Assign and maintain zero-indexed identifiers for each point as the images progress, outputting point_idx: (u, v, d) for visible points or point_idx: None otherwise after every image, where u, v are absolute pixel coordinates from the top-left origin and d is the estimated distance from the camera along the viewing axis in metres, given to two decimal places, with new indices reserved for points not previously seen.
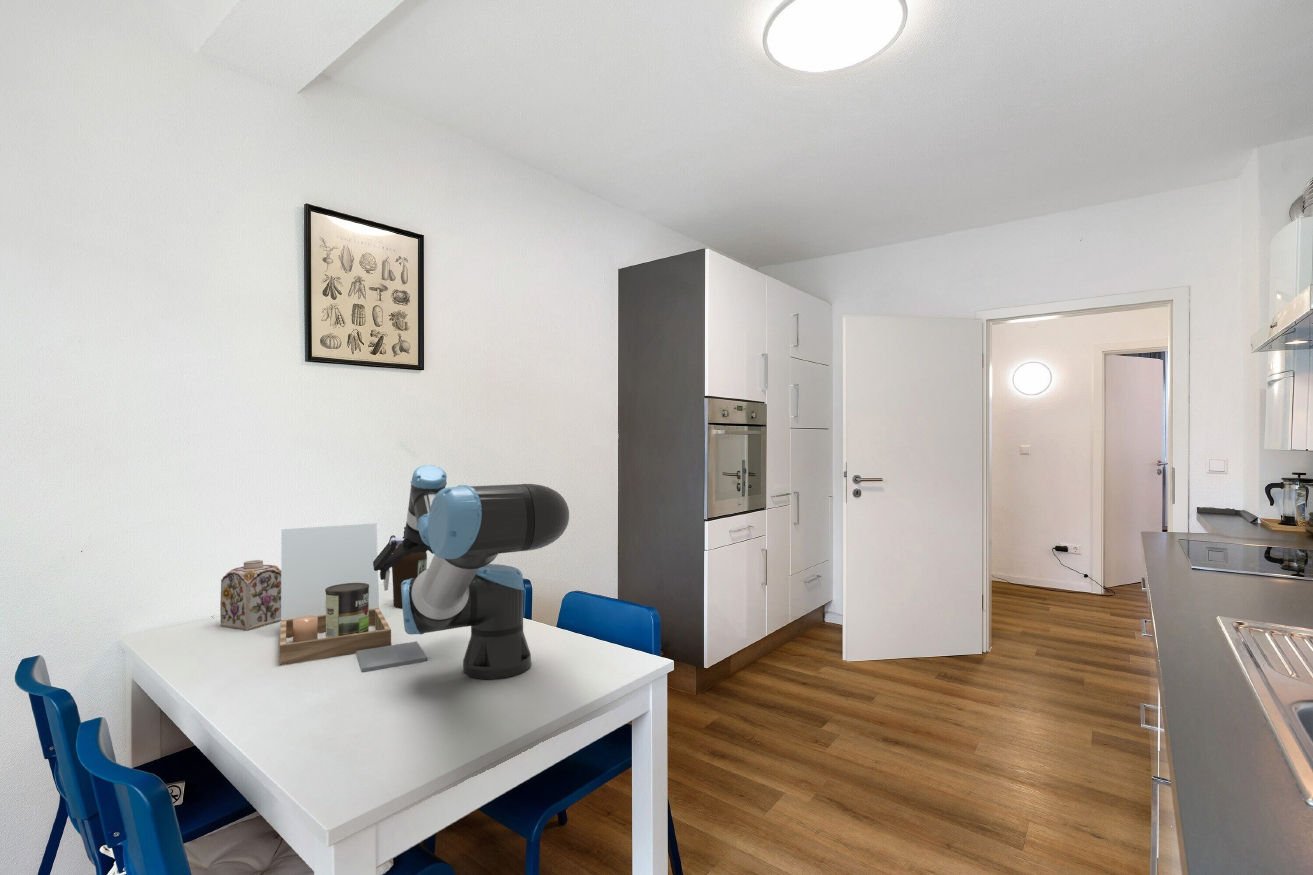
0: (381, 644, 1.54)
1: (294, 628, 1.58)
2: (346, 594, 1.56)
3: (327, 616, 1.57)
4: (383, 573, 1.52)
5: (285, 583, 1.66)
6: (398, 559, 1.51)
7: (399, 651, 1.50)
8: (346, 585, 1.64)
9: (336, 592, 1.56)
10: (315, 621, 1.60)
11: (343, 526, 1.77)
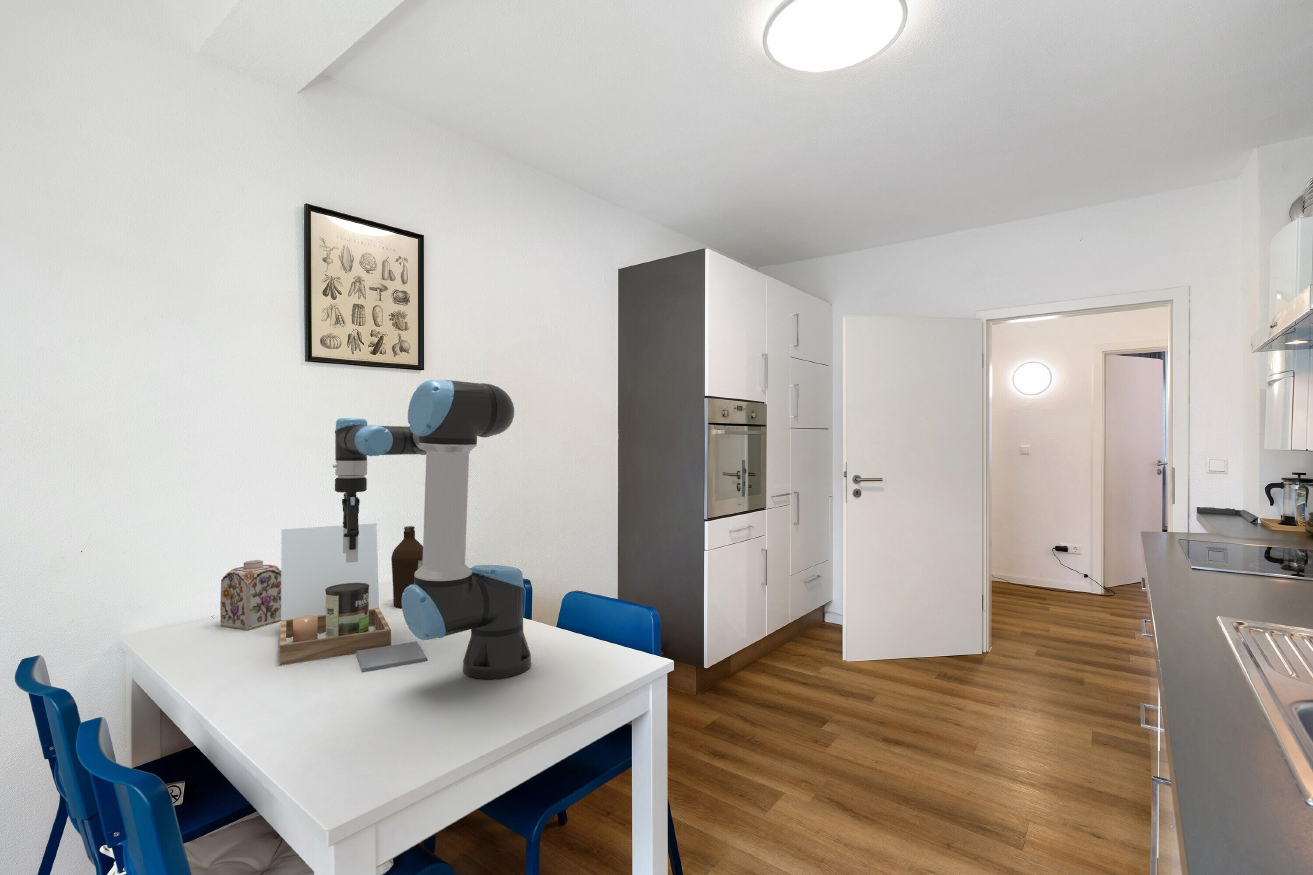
0: (381, 644, 1.54)
1: (294, 628, 1.58)
2: (346, 594, 1.56)
3: (327, 616, 1.57)
4: (355, 540, 1.55)
5: (285, 583, 1.66)
6: None
7: (399, 651, 1.50)
8: (346, 585, 1.64)
9: (336, 592, 1.56)
10: (315, 621, 1.60)
11: None
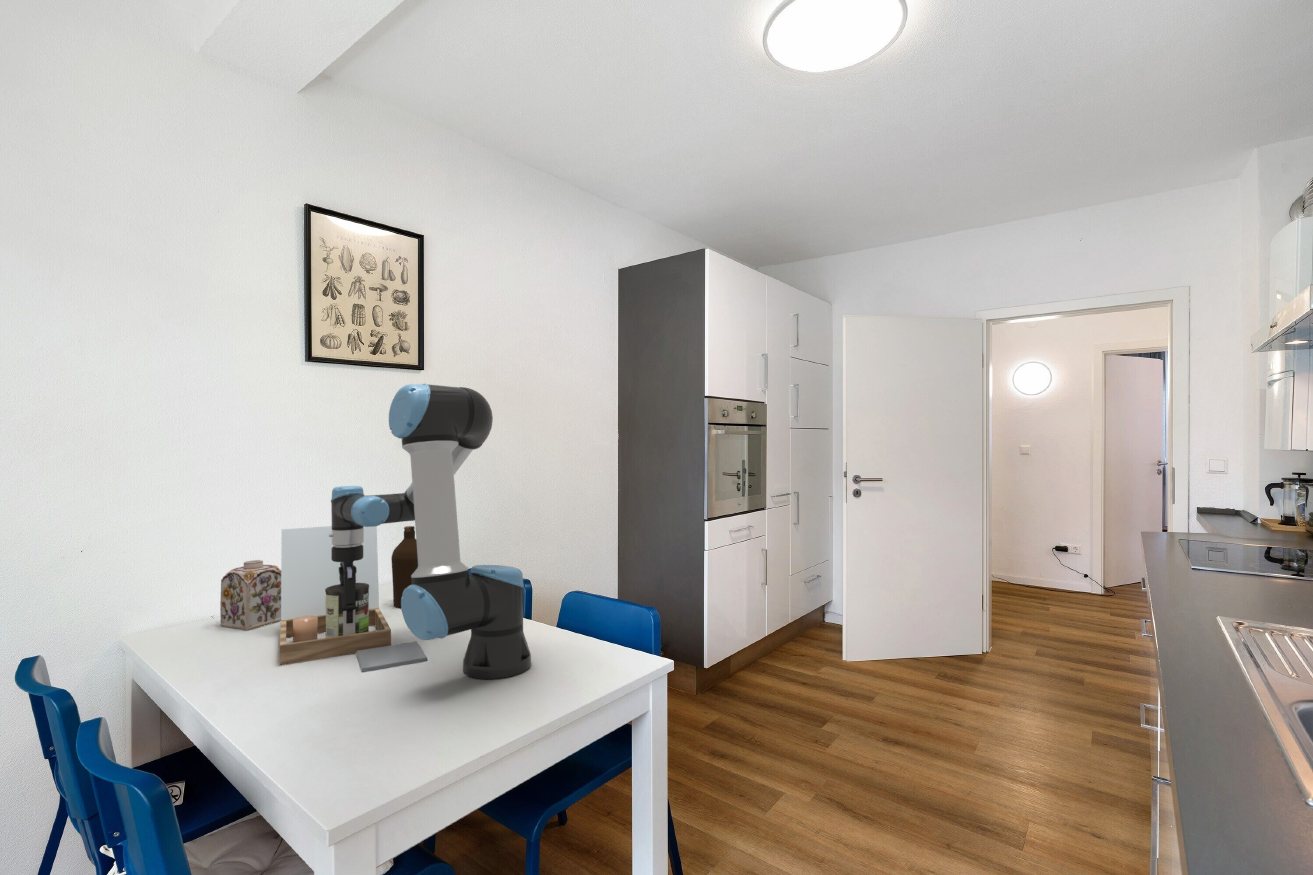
0: (381, 644, 1.54)
1: (294, 628, 1.58)
2: None
3: (327, 616, 1.57)
4: (352, 613, 1.56)
5: (285, 583, 1.66)
6: None
7: (399, 651, 1.50)
8: None
9: (336, 592, 1.56)
10: (315, 621, 1.60)
11: None
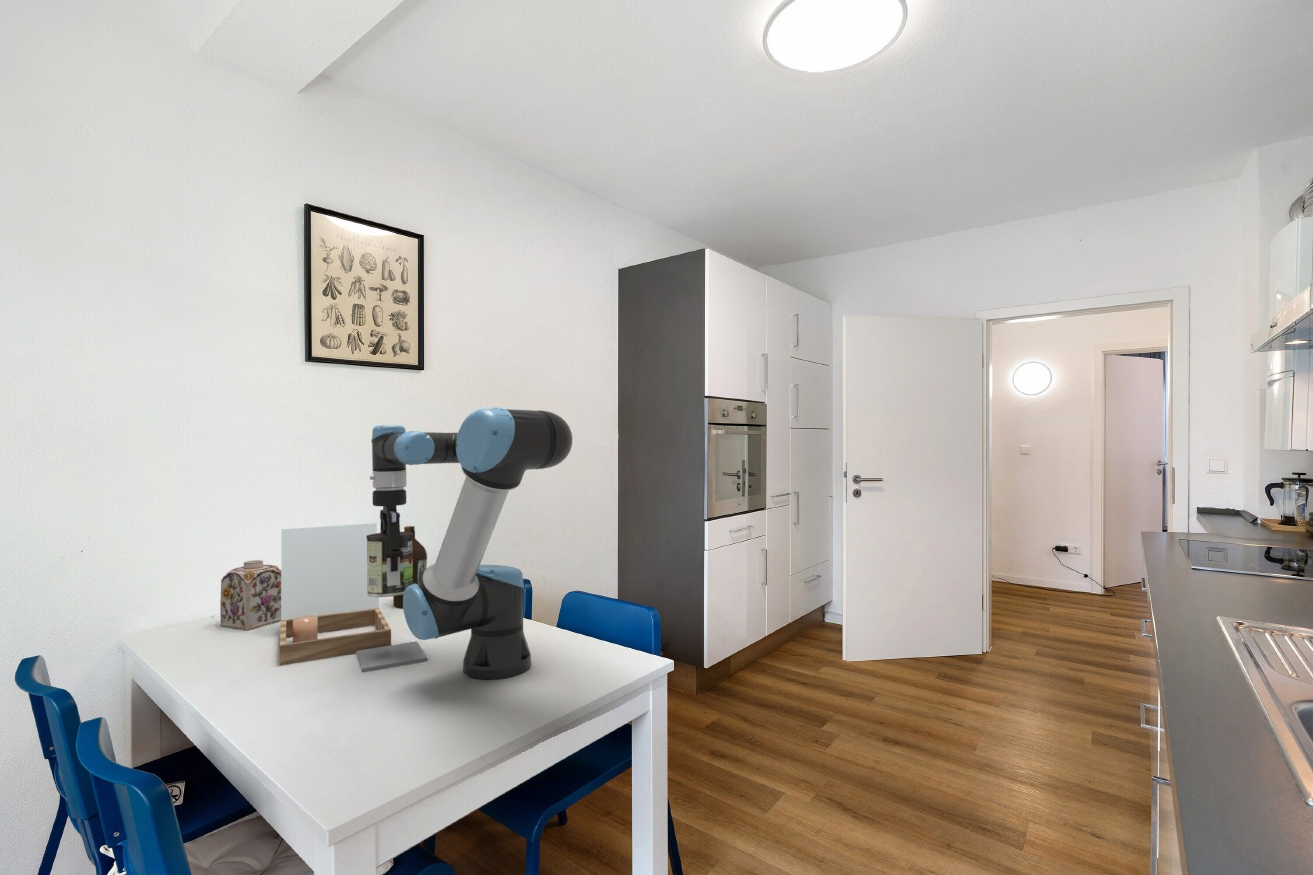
0: (381, 644, 1.54)
1: (294, 628, 1.58)
2: None
3: (369, 565, 1.45)
4: None
5: (285, 583, 1.66)
6: None
7: (399, 651, 1.50)
8: None
9: (379, 538, 1.43)
10: (315, 621, 1.60)
11: (343, 526, 1.77)
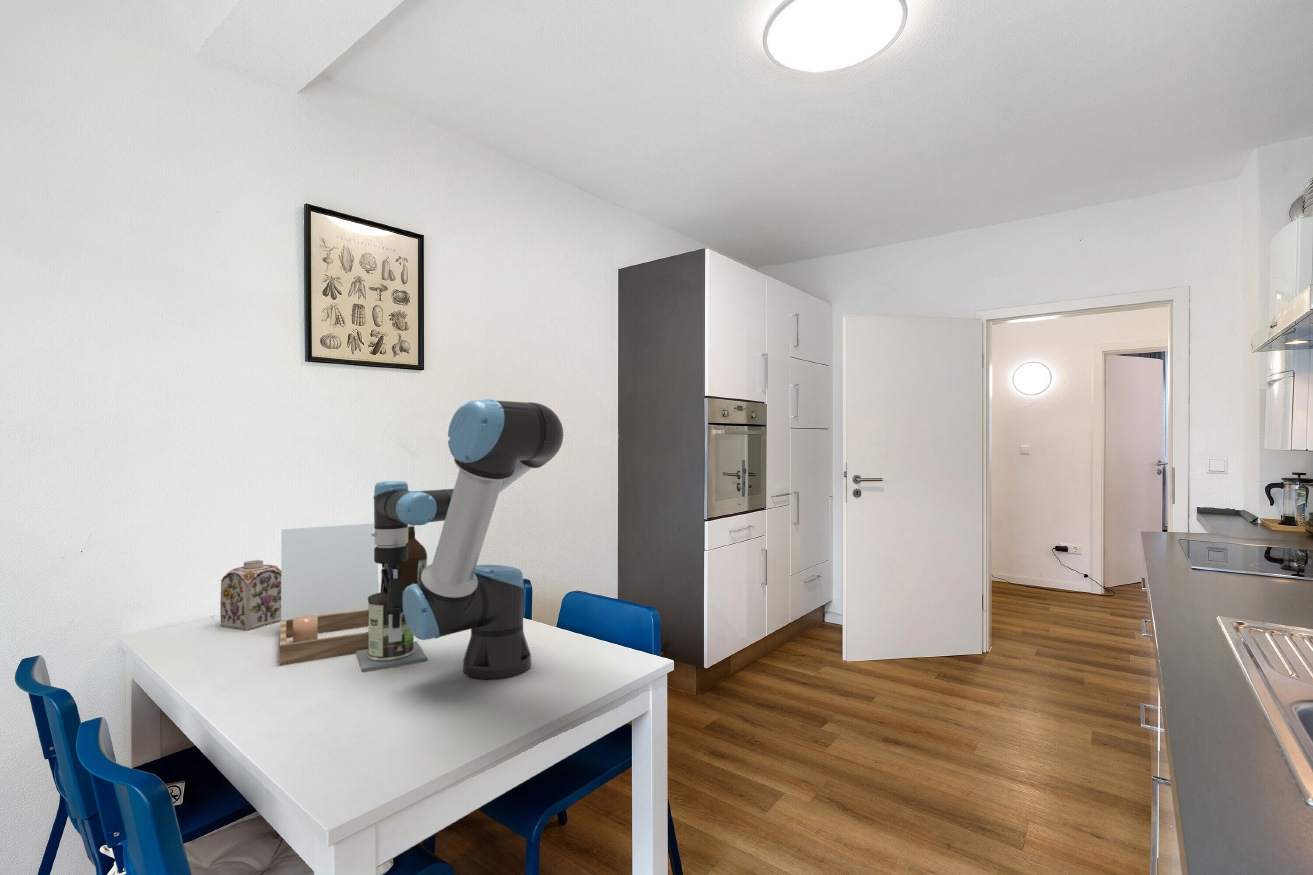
0: None
1: (294, 628, 1.58)
2: None
3: (370, 627, 1.44)
4: None
5: (285, 583, 1.66)
6: None
7: None
8: None
9: (381, 601, 1.43)
10: (315, 621, 1.60)
11: (343, 526, 1.77)
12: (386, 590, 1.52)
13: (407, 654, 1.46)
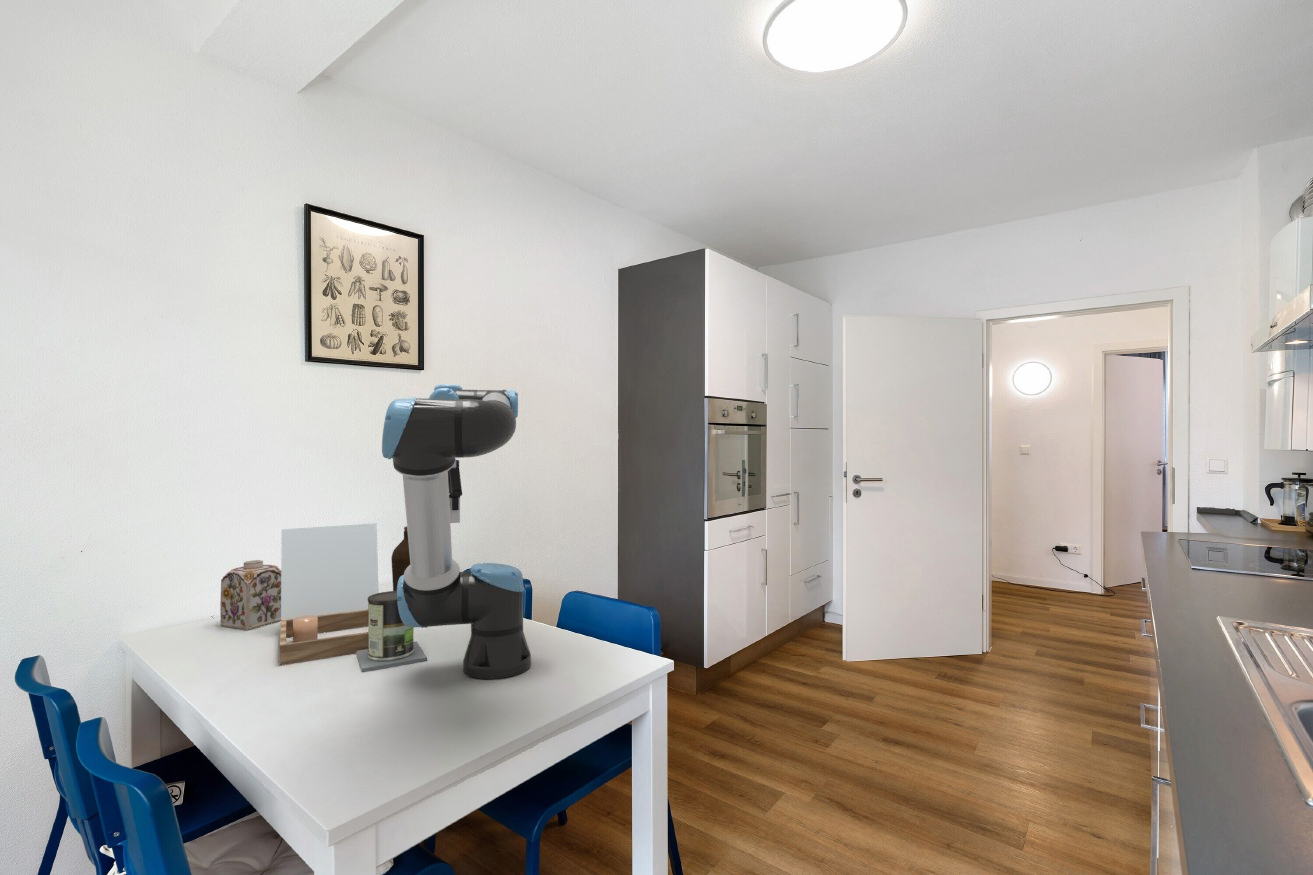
0: None
1: (294, 628, 1.58)
2: (391, 604, 1.44)
3: (370, 627, 1.44)
4: None
5: (285, 583, 1.66)
6: None
7: None
8: (389, 593, 1.51)
9: (380, 601, 1.43)
10: (315, 621, 1.60)
11: (343, 526, 1.77)
12: None
13: (407, 654, 1.46)
